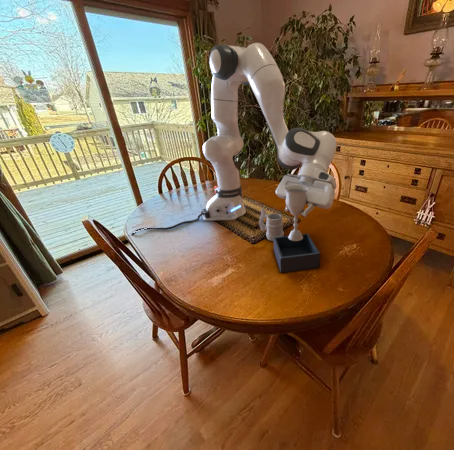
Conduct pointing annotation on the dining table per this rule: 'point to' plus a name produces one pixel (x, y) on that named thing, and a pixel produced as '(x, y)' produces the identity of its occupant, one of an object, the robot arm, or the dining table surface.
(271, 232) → the mug
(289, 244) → the bin
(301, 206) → the chalice
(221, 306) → the dining table surface
